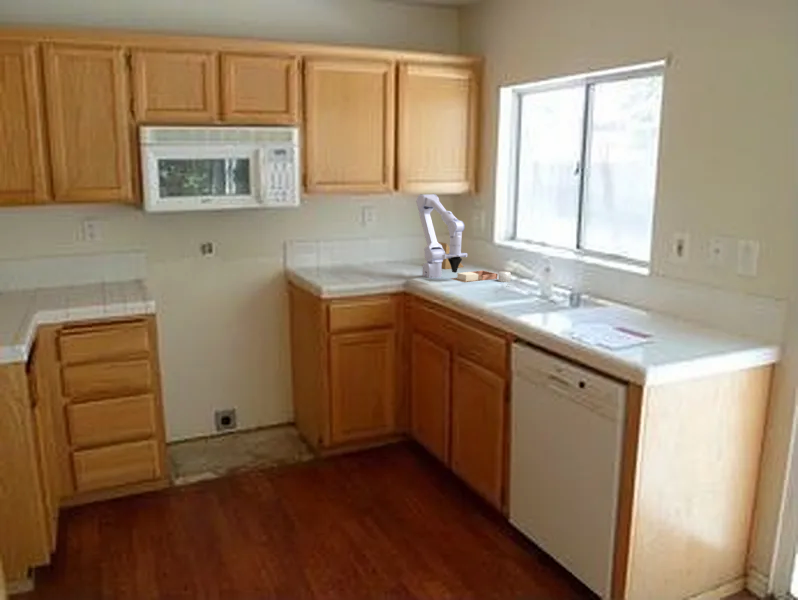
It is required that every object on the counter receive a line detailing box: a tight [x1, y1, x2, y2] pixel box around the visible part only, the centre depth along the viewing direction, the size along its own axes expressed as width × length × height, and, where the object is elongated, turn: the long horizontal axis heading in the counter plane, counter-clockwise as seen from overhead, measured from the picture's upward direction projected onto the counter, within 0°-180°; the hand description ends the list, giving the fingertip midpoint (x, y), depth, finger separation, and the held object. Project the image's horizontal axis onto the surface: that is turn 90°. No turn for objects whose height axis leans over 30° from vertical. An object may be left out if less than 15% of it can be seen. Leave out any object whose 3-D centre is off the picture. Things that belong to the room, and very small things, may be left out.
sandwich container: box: [437, 241, 464, 270], centre depth 388 cm, size 9×15×15 cm, turn 130°
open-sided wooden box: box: [449, 270, 499, 283], centre depth 347 cm, size 22×12×4 cm, turn 124°
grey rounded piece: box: [497, 270, 511, 286], centre depth 342 cm, size 6×6×6 cm
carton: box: [456, 271, 478, 281], centre depth 344 cm, size 8×7×3 cm
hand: (454, 272), depth 339 cm, fingers closed
